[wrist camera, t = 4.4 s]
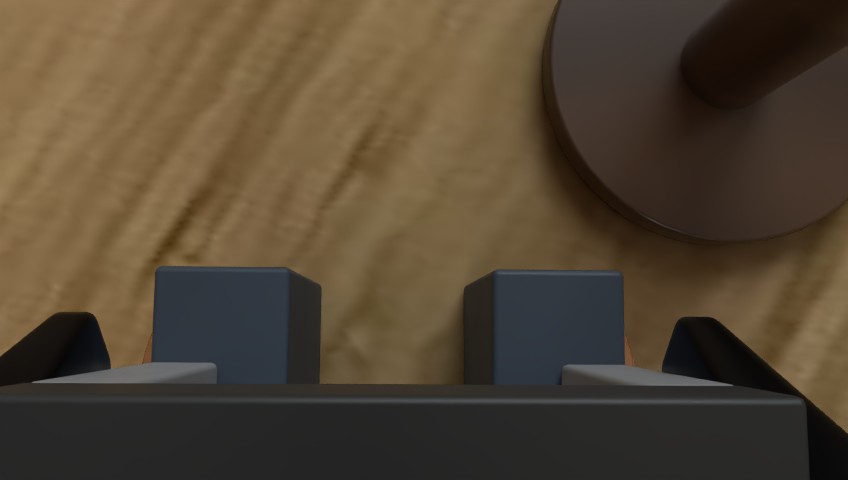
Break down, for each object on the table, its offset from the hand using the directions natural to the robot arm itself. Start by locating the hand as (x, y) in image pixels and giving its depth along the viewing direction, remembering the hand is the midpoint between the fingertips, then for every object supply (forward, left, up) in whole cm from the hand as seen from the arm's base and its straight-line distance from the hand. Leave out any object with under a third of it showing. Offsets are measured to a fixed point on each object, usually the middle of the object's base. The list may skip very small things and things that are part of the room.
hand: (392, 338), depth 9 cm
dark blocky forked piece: (-1, +1, -7) cm, 7 cm away
